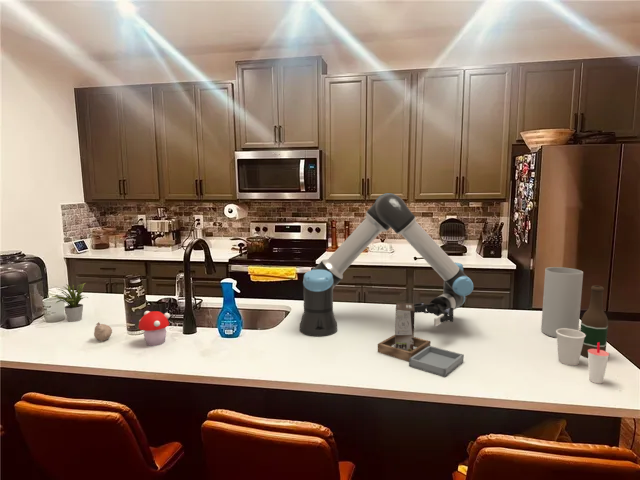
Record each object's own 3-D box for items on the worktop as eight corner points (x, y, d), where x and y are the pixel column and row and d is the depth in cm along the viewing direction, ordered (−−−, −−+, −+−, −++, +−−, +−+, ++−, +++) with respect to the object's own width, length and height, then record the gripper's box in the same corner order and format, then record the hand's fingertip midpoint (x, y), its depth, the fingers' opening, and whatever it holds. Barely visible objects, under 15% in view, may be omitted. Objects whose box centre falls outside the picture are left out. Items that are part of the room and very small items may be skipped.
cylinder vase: (581, 341, 157) (587, 275, 154) (544, 337, 161) (548, 272, 158) (573, 330, 169) (578, 268, 165) (538, 326, 173) (542, 266, 169)
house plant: (72, 313, 194) (69, 278, 192) (100, 314, 192) (98, 279, 190) (49, 323, 180) (45, 286, 178) (78, 325, 178) (75, 287, 176)
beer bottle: (580, 357, 142) (586, 288, 139) (576, 349, 150) (581, 282, 146) (608, 361, 140) (614, 290, 136) (602, 352, 147) (608, 284, 143)
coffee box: (413, 356, 144) (414, 310, 142) (394, 355, 146) (395, 309, 143) (413, 346, 153) (414, 303, 151) (395, 345, 154) (396, 302, 152)
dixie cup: (548, 356, 144) (551, 328, 142) (574, 356, 143) (576, 328, 142) (562, 367, 135) (564, 337, 134) (588, 367, 135) (591, 337, 134)
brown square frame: (377, 352, 148) (377, 343, 148) (398, 340, 159) (398, 332, 158) (411, 362, 140) (411, 353, 139) (430, 349, 150) (430, 341, 150)
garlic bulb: (90, 341, 160) (88, 320, 159) (105, 335, 166) (104, 315, 165) (101, 344, 157) (99, 323, 156) (116, 338, 163) (115, 318, 162)
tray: (409, 366, 137) (409, 358, 137) (428, 352, 148) (429, 345, 147) (445, 377, 129) (445, 369, 129) (463, 361, 140) (463, 354, 140)
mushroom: (176, 342, 158) (174, 311, 157) (147, 350, 151) (145, 318, 149) (162, 335, 166) (160, 305, 164) (134, 343, 158) (132, 311, 156)
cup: (587, 383, 125) (590, 344, 123) (583, 375, 130) (586, 337, 128) (608, 386, 123) (612, 346, 121) (604, 378, 128) (607, 340, 126)
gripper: (472, 320, 164) (450, 335, 148) (414, 308, 180) (387, 321, 163) (473, 301, 163) (450, 315, 146) (414, 291, 178) (388, 302, 162)
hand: (417, 318), depth 155 cm, fingers open, 13 cm apart
